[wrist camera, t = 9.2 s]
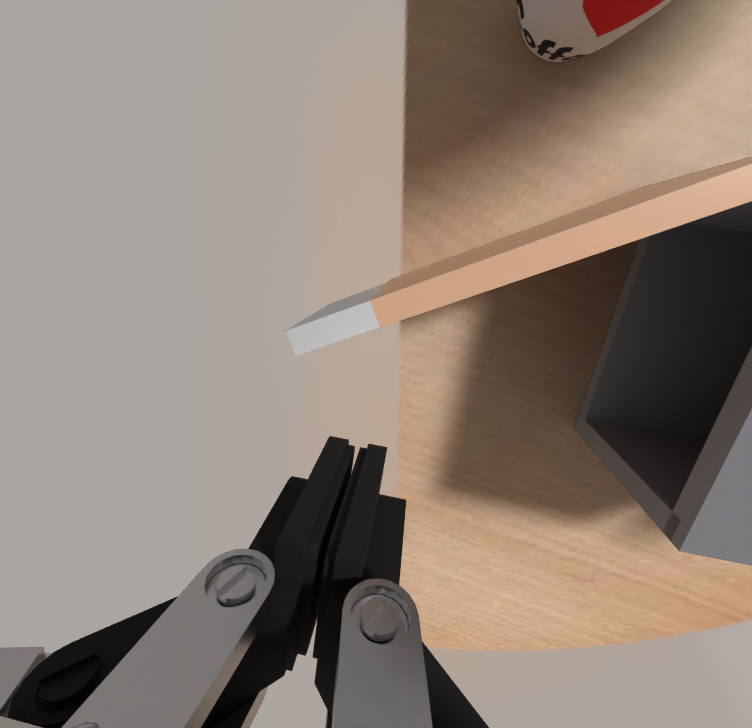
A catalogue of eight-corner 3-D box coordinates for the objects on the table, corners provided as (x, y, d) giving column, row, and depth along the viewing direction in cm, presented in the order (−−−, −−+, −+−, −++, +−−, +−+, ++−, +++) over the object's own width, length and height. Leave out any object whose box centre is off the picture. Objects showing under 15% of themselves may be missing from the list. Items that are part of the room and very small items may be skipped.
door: (651, 183, 22) (859, 125, 12) (654, 203, 23) (860, 164, 12) (338, 298, 27) (284, 331, 16) (344, 313, 27) (295, 356, 16)
